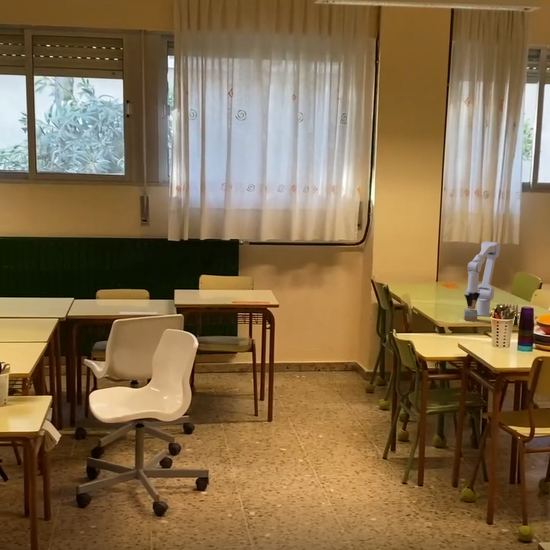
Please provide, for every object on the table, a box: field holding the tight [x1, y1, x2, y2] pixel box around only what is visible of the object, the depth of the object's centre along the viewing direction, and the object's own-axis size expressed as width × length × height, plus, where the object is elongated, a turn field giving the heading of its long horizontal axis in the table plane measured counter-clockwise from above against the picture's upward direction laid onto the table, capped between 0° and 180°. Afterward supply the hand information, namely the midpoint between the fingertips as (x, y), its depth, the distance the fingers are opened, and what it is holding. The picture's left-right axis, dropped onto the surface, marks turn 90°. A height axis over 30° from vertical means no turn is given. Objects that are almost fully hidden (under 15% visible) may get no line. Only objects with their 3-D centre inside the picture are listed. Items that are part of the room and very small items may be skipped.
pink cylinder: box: [466, 300, 477, 309], centre depth 401 cm, size 4×4×4 cm
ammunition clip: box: [499, 303, 519, 326], centre depth 392 cm, size 11×2×12 cm, turn 79°
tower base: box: [463, 315, 478, 323], centre depth 402 cm, size 7×7×3 cm
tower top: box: [463, 308, 479, 318], centre depth 402 cm, size 7×7×3 cm
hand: (471, 305), depth 401 cm, fingers closed on pink cylinder, 4 cm apart
